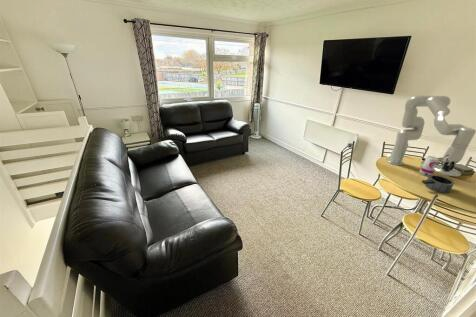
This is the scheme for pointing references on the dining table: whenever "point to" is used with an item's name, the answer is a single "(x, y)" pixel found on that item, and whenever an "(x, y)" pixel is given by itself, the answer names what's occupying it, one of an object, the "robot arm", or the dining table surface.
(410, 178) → the dining table surface
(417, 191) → the dining table surface
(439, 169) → the lid
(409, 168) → the dining table surface
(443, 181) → the pot
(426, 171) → the supplement can
